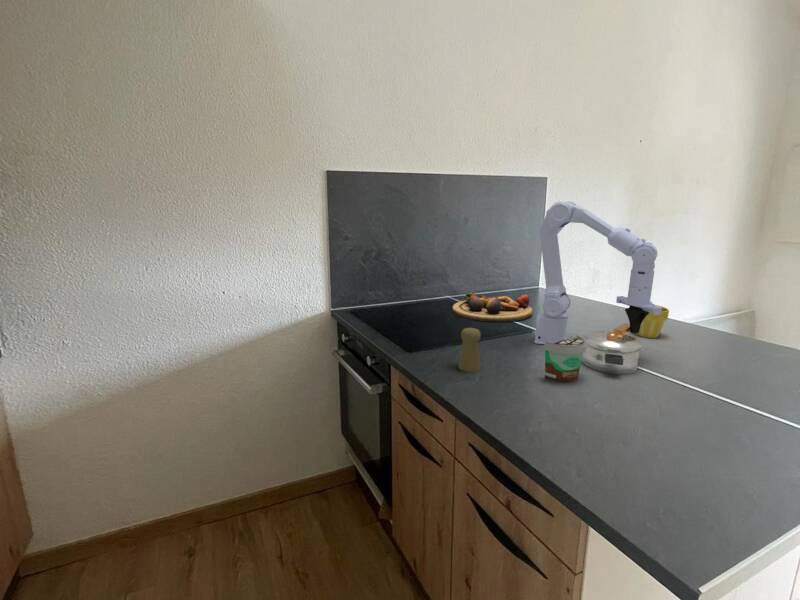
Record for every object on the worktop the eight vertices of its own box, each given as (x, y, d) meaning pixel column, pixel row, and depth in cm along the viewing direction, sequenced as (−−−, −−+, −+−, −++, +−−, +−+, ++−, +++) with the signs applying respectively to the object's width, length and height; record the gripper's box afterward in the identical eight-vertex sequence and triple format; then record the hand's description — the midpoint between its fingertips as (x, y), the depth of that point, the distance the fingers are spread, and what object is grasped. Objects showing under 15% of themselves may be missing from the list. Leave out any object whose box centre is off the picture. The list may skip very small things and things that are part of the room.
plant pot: (669, 341, 140) (674, 312, 138) (635, 338, 142) (639, 310, 140) (658, 331, 150) (662, 304, 148) (626, 329, 152) (629, 302, 150)
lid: (629, 356, 109) (631, 345, 108) (573, 342, 119) (574, 332, 118) (655, 339, 122) (656, 329, 122) (603, 328, 132) (604, 318, 132)
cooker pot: (642, 381, 109) (646, 359, 107) (583, 373, 113) (585, 352, 112) (630, 353, 129) (633, 334, 127) (580, 347, 133) (582, 328, 132)
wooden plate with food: (530, 305, 186) (531, 286, 184) (535, 325, 156) (536, 303, 154) (456, 302, 193) (457, 284, 191) (447, 320, 163) (447, 299, 161)
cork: (482, 365, 118) (484, 327, 116) (478, 373, 113) (480, 333, 110) (460, 362, 120) (462, 324, 118) (455, 370, 115) (457, 330, 112)
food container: (559, 388, 105) (563, 349, 102) (540, 378, 110) (543, 341, 108) (593, 378, 110) (598, 341, 108) (574, 370, 115) (578, 335, 113)
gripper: (673, 291, 115) (666, 339, 118) (632, 281, 128) (626, 324, 132) (652, 292, 113) (645, 341, 116) (612, 282, 127) (607, 326, 130)
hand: (634, 332), depth 124 cm, fingers closed, pressing on lid
